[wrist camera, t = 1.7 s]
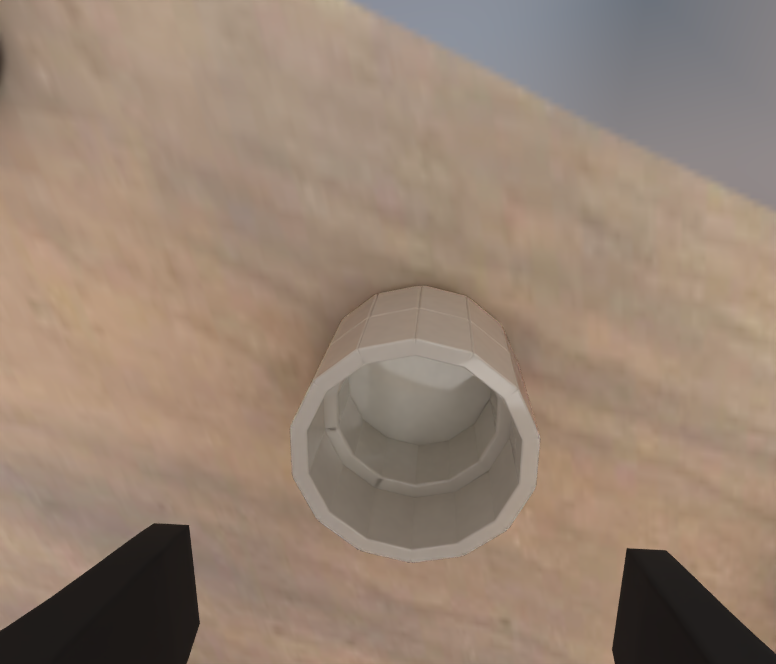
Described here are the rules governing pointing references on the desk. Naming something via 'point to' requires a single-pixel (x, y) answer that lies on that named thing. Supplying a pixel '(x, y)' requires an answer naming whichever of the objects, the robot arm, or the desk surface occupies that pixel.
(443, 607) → the desk surface
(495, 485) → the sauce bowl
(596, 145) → the desk surface
